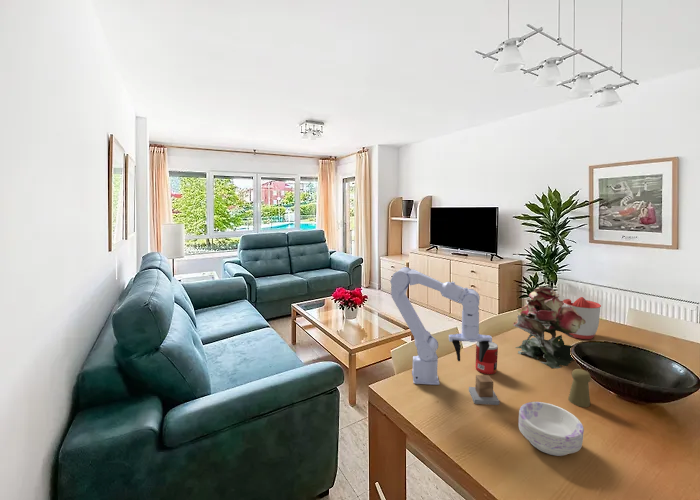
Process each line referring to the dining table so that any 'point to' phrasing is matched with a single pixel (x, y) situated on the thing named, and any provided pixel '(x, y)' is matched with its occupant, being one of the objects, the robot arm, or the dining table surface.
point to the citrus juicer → (586, 317)
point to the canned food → (487, 359)
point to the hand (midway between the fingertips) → (469, 360)
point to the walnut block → (484, 386)
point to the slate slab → (483, 398)
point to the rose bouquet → (547, 326)
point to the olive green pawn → (580, 388)
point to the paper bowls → (550, 428)
